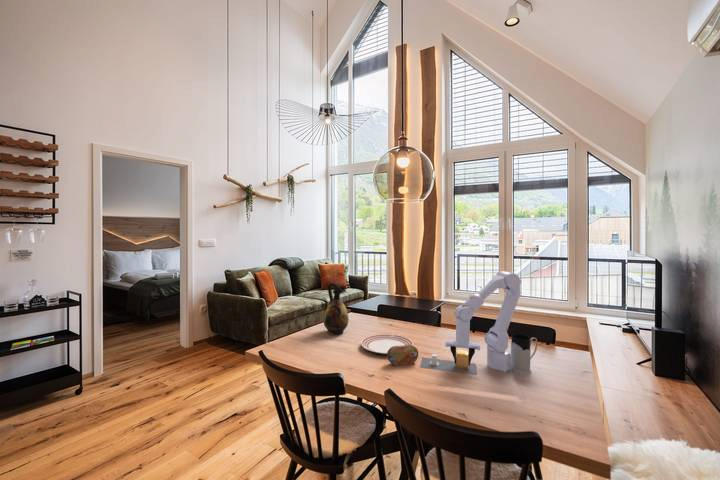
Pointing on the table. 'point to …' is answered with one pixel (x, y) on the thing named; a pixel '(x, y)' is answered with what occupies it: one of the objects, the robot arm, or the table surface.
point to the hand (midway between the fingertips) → (462, 364)
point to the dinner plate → (384, 342)
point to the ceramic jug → (335, 312)
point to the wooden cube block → (462, 359)
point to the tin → (402, 354)
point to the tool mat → (445, 365)
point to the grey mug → (521, 353)
